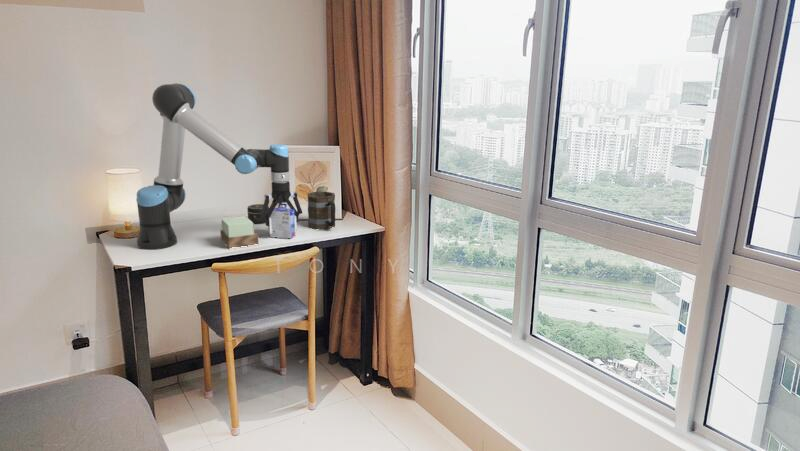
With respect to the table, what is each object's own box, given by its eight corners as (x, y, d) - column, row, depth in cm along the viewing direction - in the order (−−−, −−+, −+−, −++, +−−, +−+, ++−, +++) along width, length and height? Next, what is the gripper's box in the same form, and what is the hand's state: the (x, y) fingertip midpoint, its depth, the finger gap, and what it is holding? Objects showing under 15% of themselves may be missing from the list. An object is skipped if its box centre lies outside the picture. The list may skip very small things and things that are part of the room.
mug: (302, 224, 264) (301, 193, 260) (328, 220, 271) (327, 190, 267) (320, 234, 248) (319, 201, 244) (347, 230, 255) (347, 198, 251)
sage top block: (229, 237, 226) (228, 225, 224) (222, 230, 236) (221, 218, 234) (253, 234, 231) (253, 222, 229) (246, 227, 241) (245, 216, 239)
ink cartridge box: (296, 235, 246) (294, 203, 242) (291, 239, 240) (289, 206, 237) (274, 234, 248) (273, 202, 244) (269, 237, 242) (268, 205, 238)
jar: (245, 224, 262) (244, 208, 260) (251, 218, 272) (250, 203, 270) (266, 225, 262) (265, 209, 260) (272, 219, 271) (271, 204, 269)
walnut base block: (229, 249, 226) (228, 238, 225) (221, 241, 237) (220, 230, 236) (258, 245, 232) (257, 234, 231) (249, 237, 243) (248, 226, 242)
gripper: (256, 185, 229) (259, 237, 235) (309, 180, 240) (310, 230, 246) (251, 182, 235) (253, 232, 241) (302, 177, 246) (304, 226, 252)
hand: (282, 231), depth 243 cm, fingers closed on ink cartridge box, 10 cm apart
